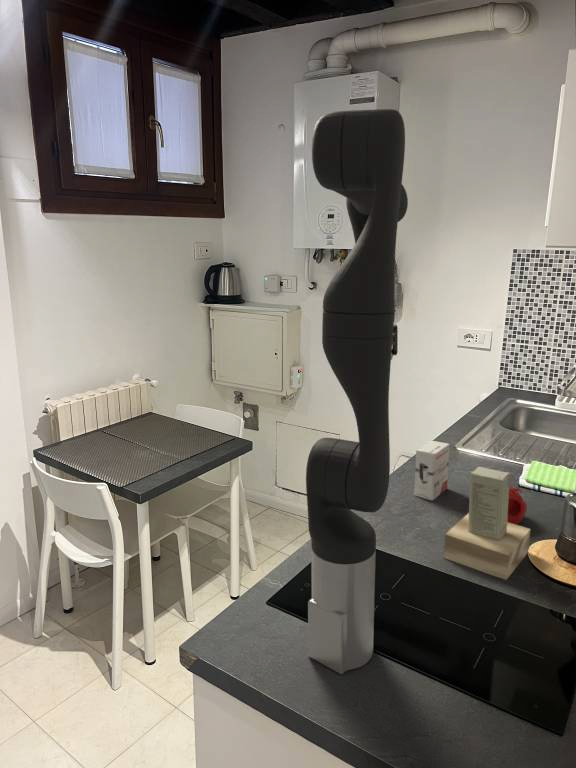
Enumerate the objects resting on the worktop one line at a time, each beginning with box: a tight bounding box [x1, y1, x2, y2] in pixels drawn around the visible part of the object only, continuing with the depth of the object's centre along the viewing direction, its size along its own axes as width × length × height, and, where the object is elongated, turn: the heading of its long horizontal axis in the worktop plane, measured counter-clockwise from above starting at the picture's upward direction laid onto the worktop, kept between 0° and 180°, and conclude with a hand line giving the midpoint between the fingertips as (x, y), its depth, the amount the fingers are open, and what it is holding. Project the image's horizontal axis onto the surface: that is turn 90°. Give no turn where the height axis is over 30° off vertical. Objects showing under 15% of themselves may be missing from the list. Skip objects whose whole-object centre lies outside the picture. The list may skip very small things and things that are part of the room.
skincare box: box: [468, 466, 511, 540], centre depth 110 cm, size 6×4×12 cm
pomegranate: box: [507, 486, 528, 525], centre depth 125 cm, size 10×10×9 cm
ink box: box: [414, 440, 450, 501], centre depth 138 cm, size 9×5×12 cm, turn 141°
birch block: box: [443, 512, 531, 581], centre depth 112 cm, size 12×12×5 cm
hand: (372, 383), depth 110 cm, fingers open, 8 cm apart
